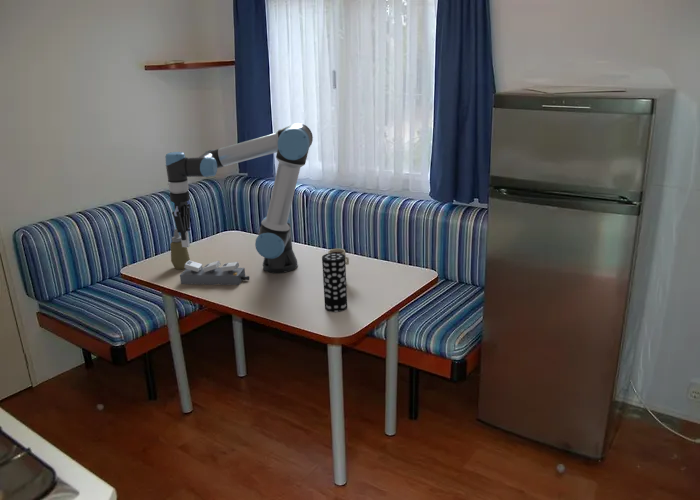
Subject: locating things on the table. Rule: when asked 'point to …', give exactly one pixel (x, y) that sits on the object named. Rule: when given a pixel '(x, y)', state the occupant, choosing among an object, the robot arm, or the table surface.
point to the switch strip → (214, 276)
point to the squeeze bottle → (178, 252)
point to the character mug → (341, 253)
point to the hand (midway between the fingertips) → (185, 246)
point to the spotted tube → (334, 282)
